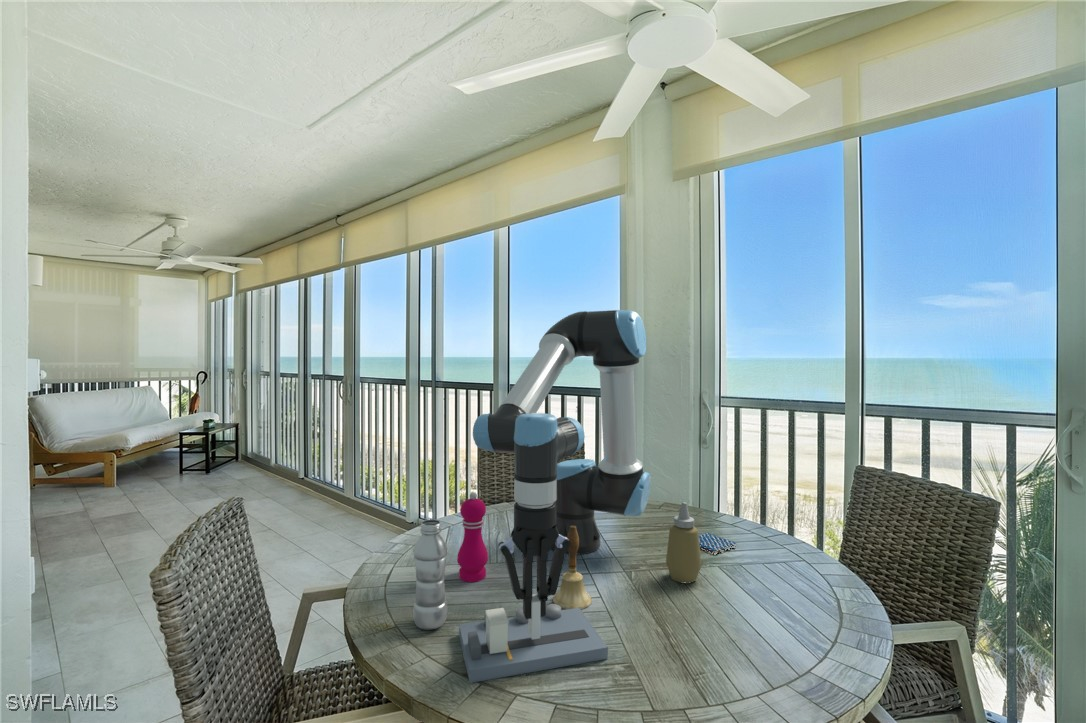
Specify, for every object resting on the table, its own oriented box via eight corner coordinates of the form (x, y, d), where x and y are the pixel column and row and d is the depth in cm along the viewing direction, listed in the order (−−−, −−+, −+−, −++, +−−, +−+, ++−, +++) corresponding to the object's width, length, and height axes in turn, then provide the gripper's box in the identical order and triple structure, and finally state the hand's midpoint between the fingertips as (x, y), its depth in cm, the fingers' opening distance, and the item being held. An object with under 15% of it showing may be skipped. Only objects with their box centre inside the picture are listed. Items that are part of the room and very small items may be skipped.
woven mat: (739, 549, 137) (739, 542, 137) (715, 558, 131) (715, 550, 131) (707, 537, 146) (707, 531, 146) (683, 545, 140) (683, 538, 140)
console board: (579, 617, 100) (579, 597, 100) (607, 658, 86) (608, 635, 86) (459, 635, 93) (459, 614, 93) (469, 683, 79) (469, 658, 79)
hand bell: (547, 594, 109) (548, 522, 109) (581, 588, 112) (582, 518, 112) (562, 613, 101) (562, 535, 101) (598, 606, 104) (599, 531, 104)
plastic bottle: (430, 638, 92) (431, 530, 91) (405, 627, 95) (405, 524, 95) (454, 622, 97) (455, 521, 97) (429, 613, 101) (430, 515, 100)
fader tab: (503, 637, 88) (503, 607, 88) (508, 651, 84) (508, 619, 84) (485, 640, 87) (485, 610, 87) (489, 654, 83) (489, 622, 83)
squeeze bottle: (707, 578, 118) (708, 503, 118) (691, 590, 112) (692, 510, 112) (675, 568, 123) (676, 496, 123) (659, 578, 117) (660, 503, 117)
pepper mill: (482, 584, 113) (483, 497, 113) (452, 581, 115) (453, 495, 114) (491, 571, 120) (492, 489, 120) (463, 568, 122) (464, 487, 122)
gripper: (563, 493, 93) (562, 618, 93) (495, 498, 89) (494, 628, 90) (577, 505, 85) (575, 641, 86) (503, 511, 82) (501, 652, 82)
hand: (534, 634), depth 88 cm, fingers closed
